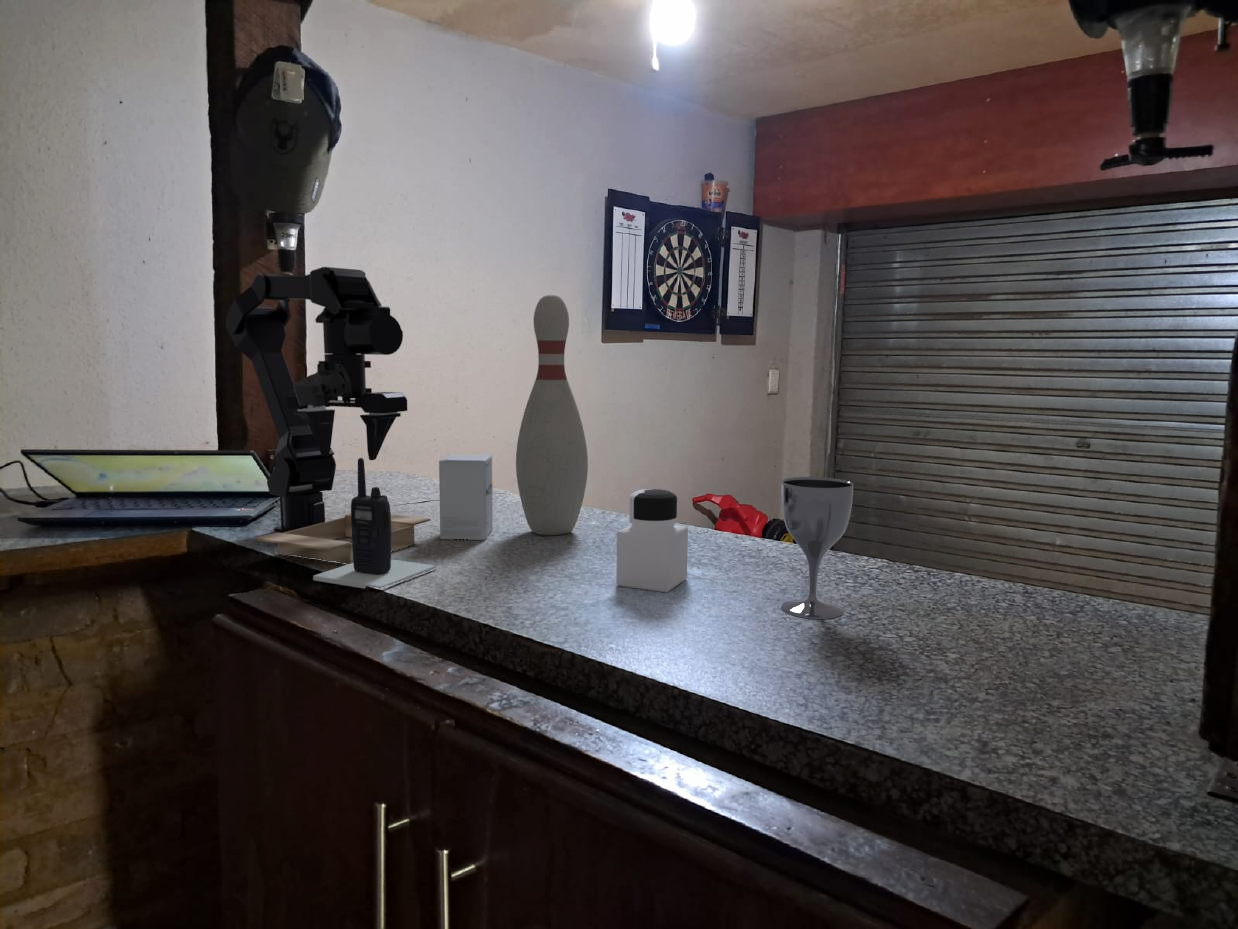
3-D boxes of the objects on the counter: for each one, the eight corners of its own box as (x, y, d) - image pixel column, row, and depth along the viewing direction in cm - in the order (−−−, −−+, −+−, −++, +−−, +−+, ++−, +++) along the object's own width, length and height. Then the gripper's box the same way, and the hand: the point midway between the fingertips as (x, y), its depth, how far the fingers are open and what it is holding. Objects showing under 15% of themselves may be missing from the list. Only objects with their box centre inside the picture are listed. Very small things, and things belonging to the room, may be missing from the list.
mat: (313, 580, 108) (313, 575, 108) (371, 560, 118) (371, 556, 118) (380, 591, 103) (380, 586, 103) (435, 570, 113) (435, 565, 113)
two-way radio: (347, 572, 110) (342, 458, 108) (369, 564, 114) (366, 454, 112) (381, 577, 108) (377, 461, 105) (403, 568, 112) (400, 456, 109)
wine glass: (807, 624, 92) (813, 490, 90) (763, 604, 99) (767, 479, 97) (862, 614, 96) (868, 485, 94) (815, 595, 103) (821, 475, 101)
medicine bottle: (687, 579, 110) (689, 489, 108) (667, 593, 104) (669, 497, 102) (637, 572, 113) (638, 484, 111) (615, 586, 107) (616, 493, 105)
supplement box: (486, 540, 131) (485, 460, 129) (439, 540, 131) (437, 459, 129) (494, 530, 138) (493, 454, 136) (449, 529, 138) (447, 453, 136)
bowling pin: (534, 543, 129) (533, 291, 124) (506, 528, 139) (504, 295, 134) (598, 535, 135) (599, 294, 129) (567, 522, 145) (567, 297, 139)
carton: (255, 561, 117) (254, 537, 117) (362, 530, 137) (362, 510, 136) (330, 572, 112) (329, 548, 111) (430, 539, 131) (430, 518, 131)
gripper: (255, 353, 121) (260, 460, 124) (355, 355, 114) (359, 469, 116) (312, 353, 132) (317, 452, 134) (408, 354, 124) (411, 459, 126)
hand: (348, 458), depth 127 cm, fingers open, 9 cm apart
